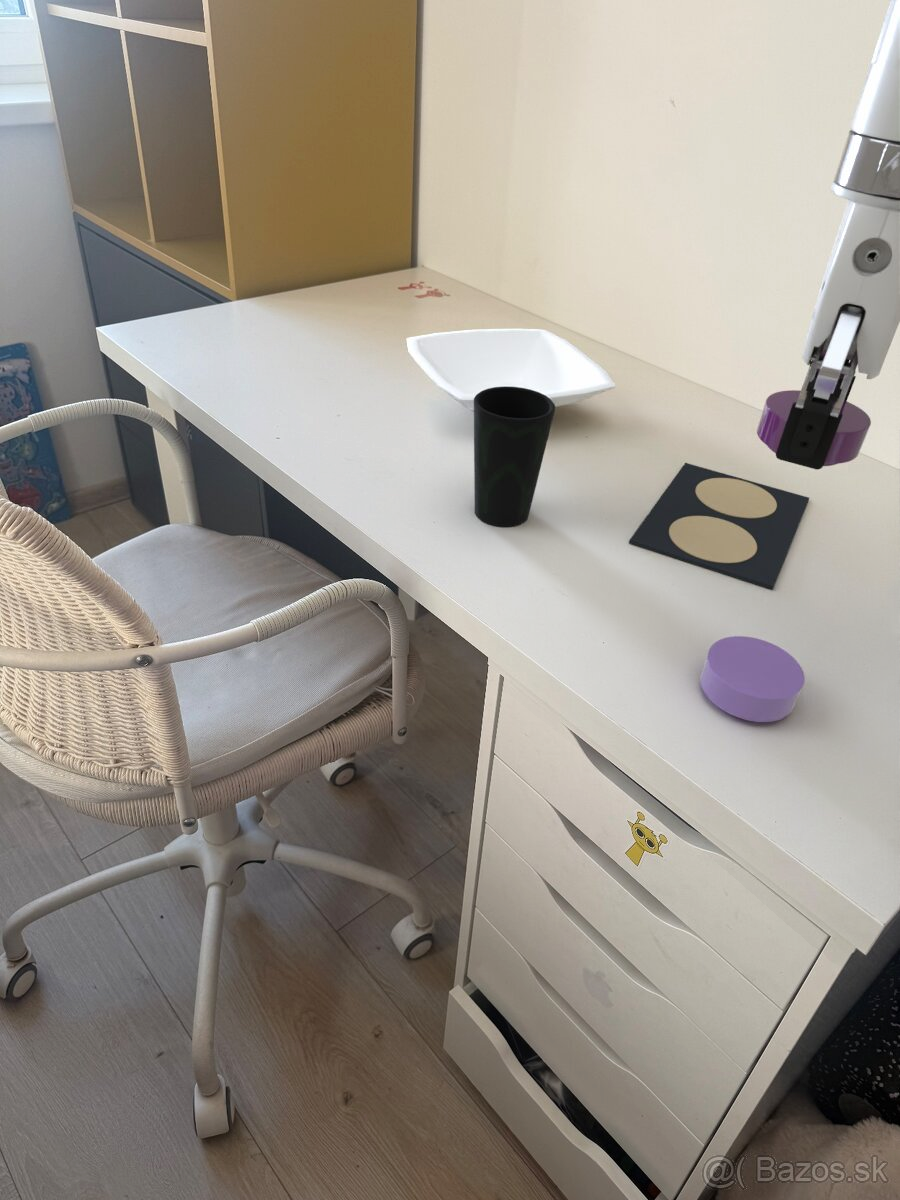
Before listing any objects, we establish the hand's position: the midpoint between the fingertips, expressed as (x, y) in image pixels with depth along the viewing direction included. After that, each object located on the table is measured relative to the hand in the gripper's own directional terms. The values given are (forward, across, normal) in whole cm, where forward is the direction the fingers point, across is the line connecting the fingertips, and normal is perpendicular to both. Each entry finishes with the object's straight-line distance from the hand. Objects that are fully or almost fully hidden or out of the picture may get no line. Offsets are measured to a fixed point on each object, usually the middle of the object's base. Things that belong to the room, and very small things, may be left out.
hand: (807, 440), depth 60 cm
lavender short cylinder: (+18, -8, -2) cm, 20 cm away
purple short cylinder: (+1, 0, 0) cm, 1 cm away
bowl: (+19, +32, +37) cm, 52 cm away
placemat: (+18, +18, +5) cm, 26 cm away
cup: (+18, +7, +26) cm, 32 cm away
